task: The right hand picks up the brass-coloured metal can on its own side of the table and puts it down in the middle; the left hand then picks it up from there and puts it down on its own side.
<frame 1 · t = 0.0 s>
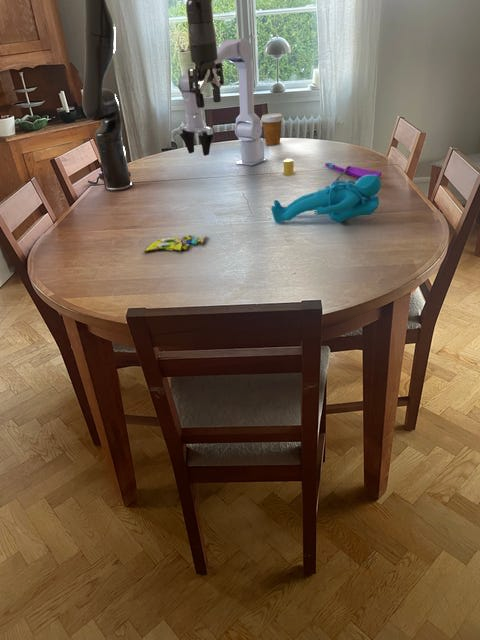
left hand: (209, 104, 142), 29 cm above the table, tool pointing down, fingers open, 8 cm apart
right hand: (198, 153, 172), 10 cm above the table, tool pointing down, fingers open, 7 cm apart
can: (288, 173, 178), on the table
toy: (324, 220, 137), on the table
disposable coffee cup: (272, 143, 218), on the table
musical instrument: (345, 176, 169), on the table
toy 2: (176, 245, 130), on the table
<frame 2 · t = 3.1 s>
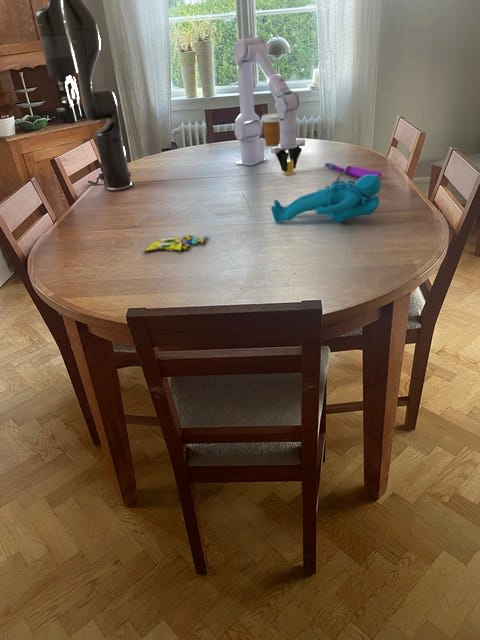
left hand: (75, 120, 135), 30 cm above the table, tool pointing down, fingers open, 8 cm apart
right hand: (288, 169, 177), 1 cm above the table, tool pointing down, fingers closed on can, 4 cm apart
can: (288, 173, 178), on the table, touching right hand
everything else where it was.
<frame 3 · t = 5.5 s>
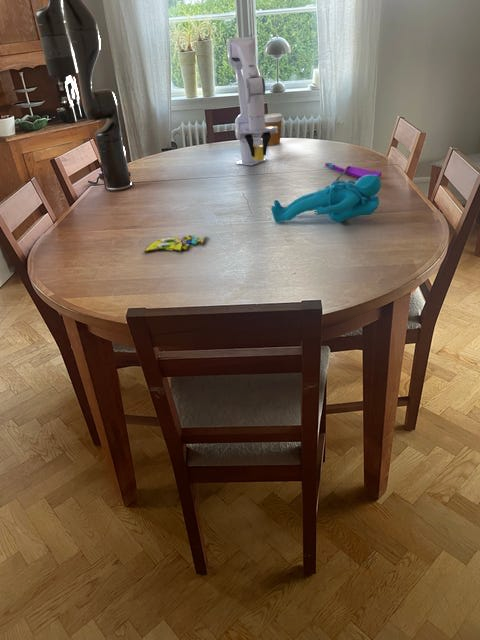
left hand: (75, 120, 135), 30 cm above the table, tool pointing down, fingers open, 8 cm apart
right hand: (258, 155, 175), 7 cm above the table, tool pointing down, fingers closed on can, 4 cm apart
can: (258, 159, 176), point 6 cm above the table, touching right hand
everything else where it was.
when the right hand's fingers open (2 cm above the table, at t = 8.2 s): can stays where it is, on the table.
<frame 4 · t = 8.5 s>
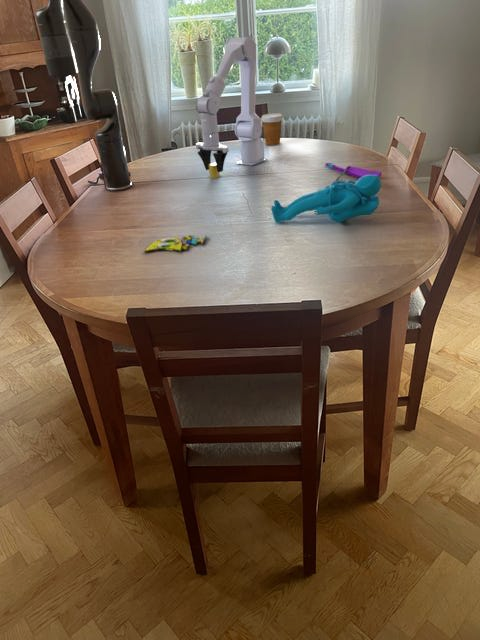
left hand: (75, 120, 135), 30 cm above the table, tool pointing down, fingers open, 8 cm apart
right hand: (214, 170, 180), 2 cm above the table, tool pointing down, fingers open, 6 cm apart
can: (214, 176, 181), on the table
everything else where it was.
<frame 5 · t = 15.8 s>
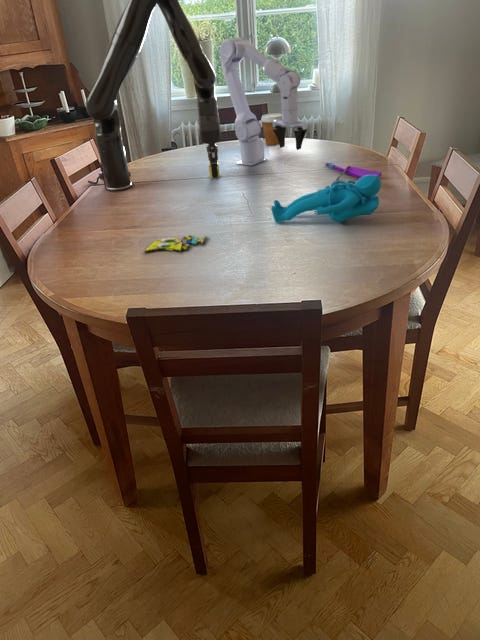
left hand: (214, 175, 181), 1 cm above the table, tool pointing down, fingers closed on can, 3 cm apart
right hand: (290, 148, 181), 7 cm above the table, tool pointing down, fingers open, 7 cm apart
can: (214, 176, 181), on the table, touching left hand
everything else where it was.
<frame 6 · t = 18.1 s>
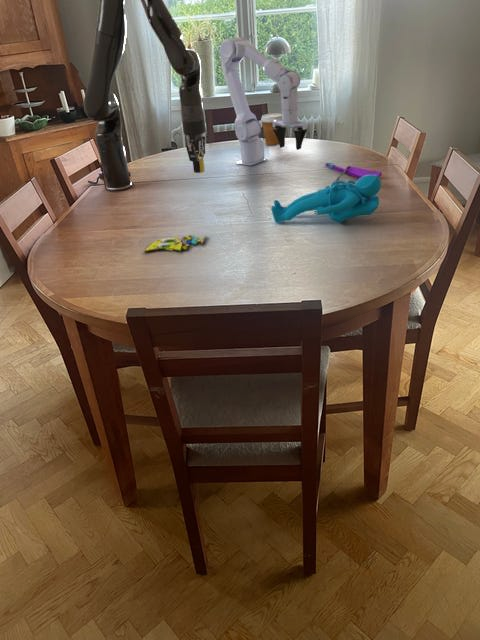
left hand: (199, 170, 169), 6 cm above the table, tool pointing down, fingers closed on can, 3 cm apart
right hand: (290, 148, 181), 7 cm above the table, tool pointing down, fingers open, 7 cm apart
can: (199, 171, 169), point 6 cm above the table, touching left hand
everything else where it was.
when the left hand's fingers open (2 cm above the table, at t = 20.7 s): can stays where it is, on the table.
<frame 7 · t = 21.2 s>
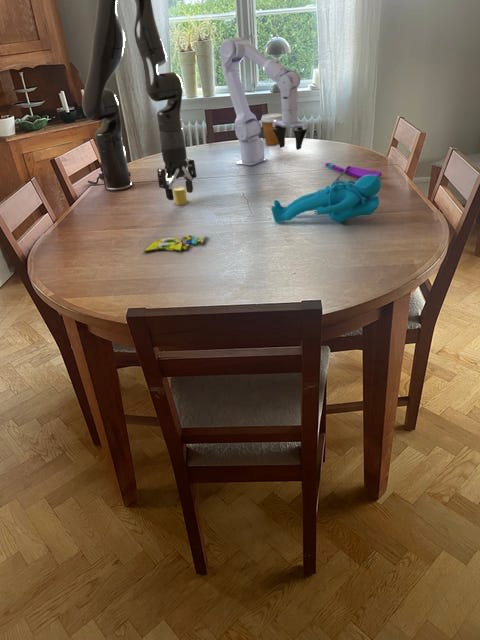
left hand: (180, 195, 158), 2 cm above the table, tool pointing down, fingers open, 8 cm apart
right hand: (290, 148, 181), 7 cm above the table, tool pointing down, fingers open, 7 cm apart
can: (181, 203, 159), on the table
everything else where it was.
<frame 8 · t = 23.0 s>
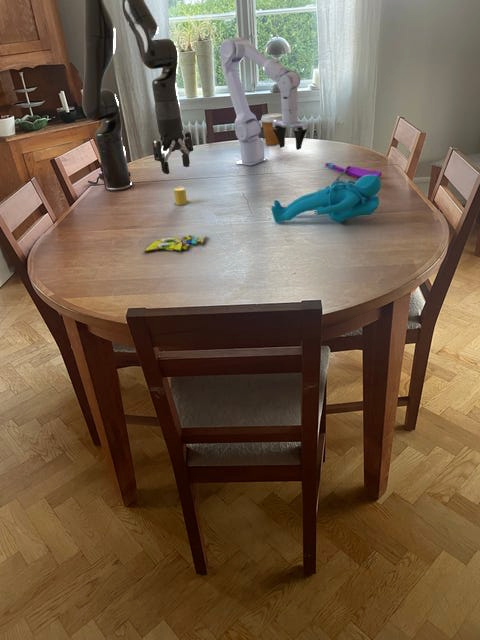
left hand: (176, 170, 153), 11 cm above the table, tool pointing down, fingers open, 8 cm apart
right hand: (290, 148, 181), 7 cm above the table, tool pointing down, fingers open, 7 cm apart
nothing on the table moved.
at the end: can inside the target area (0.1 cm from its centre), on the table; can tilted 0°; the two hands never held the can at the same time; the left hand is holding nothing; the right hand is holding nothing; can at rest at the end (0.0 cm/s) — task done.
